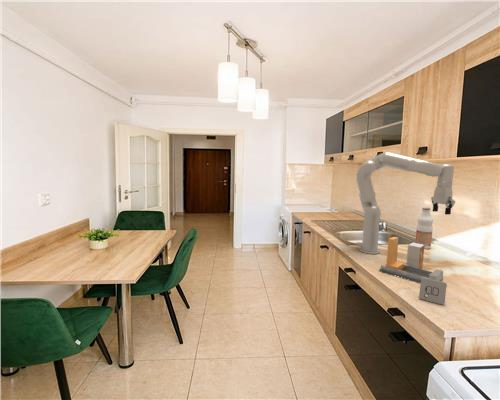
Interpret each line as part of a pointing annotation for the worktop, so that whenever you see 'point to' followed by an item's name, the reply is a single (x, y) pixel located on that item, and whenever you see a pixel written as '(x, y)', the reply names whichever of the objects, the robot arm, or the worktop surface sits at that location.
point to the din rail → (414, 273)
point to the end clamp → (393, 254)
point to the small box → (415, 255)
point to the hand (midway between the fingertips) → (441, 212)
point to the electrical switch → (433, 290)
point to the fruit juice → (424, 228)
